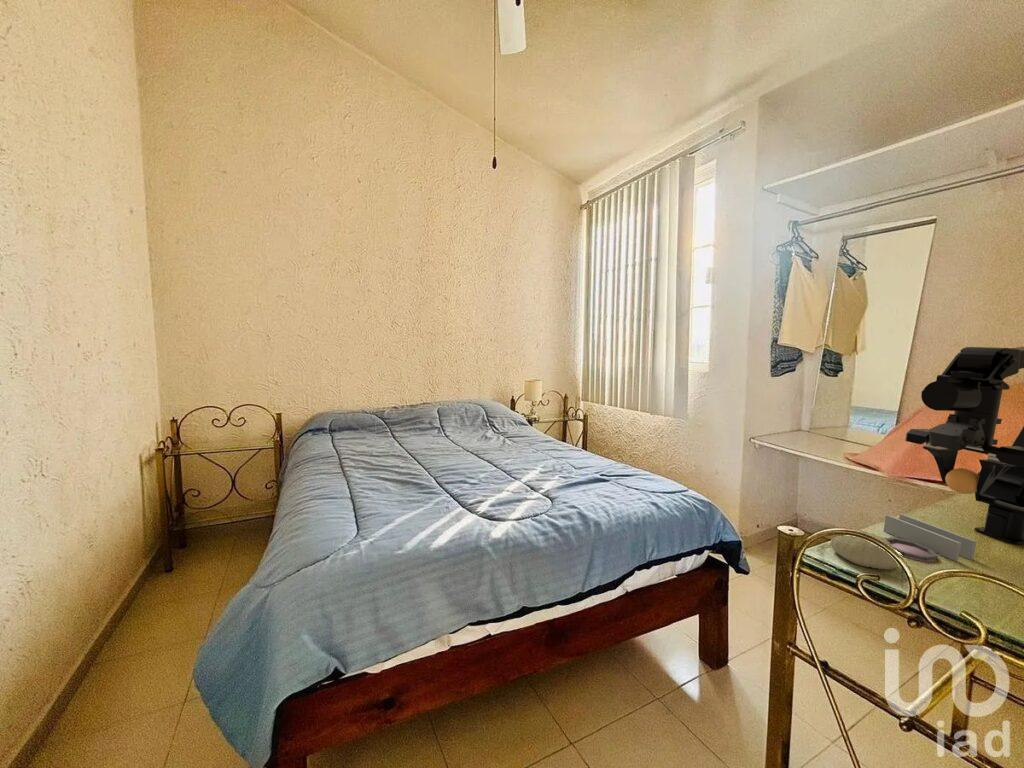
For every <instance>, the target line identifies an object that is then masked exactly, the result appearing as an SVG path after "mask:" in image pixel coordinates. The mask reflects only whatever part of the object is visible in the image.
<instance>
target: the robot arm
mask: <svg viewBox="0 0 1024 768" xmlns="http://www.w3.org/2000/svg"><path fill="white" fill-rule="evenodd" d="M947 365H948V366H946V368H945V369H944V371H943V372H942V373H941V374H937V375H936V380H934V381H932V382H930V383H928V384H927V385H926V386H925V387H923V389H922V390H921V400H922V402H923V404H924V405H925V406H926V407H927V408H928V409H931V410H933V411H937V412H938V411H940V412H941V411H942V412H944V411H946V412H954V413H949V415H948V416H947V420H946V421H945V423H941V424H938V425H935V426H933V427H932V428H910V429H909V430H908V431H907V432H906V434H905V438H904V439H905V440H904V441H905V442H906V443H907V442H908V443H912V444H916V445H923V446H922V449H923V450H926V451H928V452H929V453H930V454H931V455H932V456H933V458H934V460H935V462H936V466H937V469H938V471H939V474H940V479H941V482H942V484H945V485H947V484H946V481H945V477H946V475H947V473H948V472H950V471H951V470H953V469H955V465H956V461H957V457H958V454H959V452H960V451H963V450H965V451H969V452H974V453H979V454H983V455H987V458H986V459H984V458H983V459H982V458H981V459H980V458H979V460H978V461H979V463H980V467H981V469H980V471H979V472H978V473H977V474H978V475H979V480H978V484H977V492H975V493H974V496H975V498H974V499H975V501H976V502H979V503H984V504H986V505H987V511H986V515H985V521H984V526H980V527H979V526H978V527H974V531H975V532H979V533H981V534H984V535H987V536H990V537H993V538H996V539H997V540H998V539H999V540H1002V541H1004V542H1007V543H1010V544H1013V545H1020V544H1021V545H1022V544H1024V425H1023V426H1022V428H1021V430H1020V431H1019V433H1018V435H1017V436H1016V438H1015V440H1014V441H1013V442H1012V444H1011V445H1009V446H1007V445H1006V446H1005V445H1004V446H998V441H999V440H998V439H996V438H995V432H996V426H997V425H1001V424H1002V420H1003V419H1002V418H1000V417H999V410H1000V405H1001V401H1002V394H1003V390H1005V391H1006V390H1007V391H1008V390H1010V389H1011V387H1010V385H1009V384H1008V383H1007V382H1005V381H1004V380H1005V379H1006V378H1009V377H1012V376H1015V375H1017V374H1019V372H1020V371H1019V370H1021V369H1024V346H1019V347H993V346H992V347H990V346H989V347H988V346H987V347H984V346H965V347H963V348H962V349H960V351H959V352H958V353H957V354H956V355H955V356H954V358H953V359H952V360H951V362H950V363H949V364H947ZM998 417H999V418H998ZM924 444H925V445H924Z"/></svg>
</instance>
